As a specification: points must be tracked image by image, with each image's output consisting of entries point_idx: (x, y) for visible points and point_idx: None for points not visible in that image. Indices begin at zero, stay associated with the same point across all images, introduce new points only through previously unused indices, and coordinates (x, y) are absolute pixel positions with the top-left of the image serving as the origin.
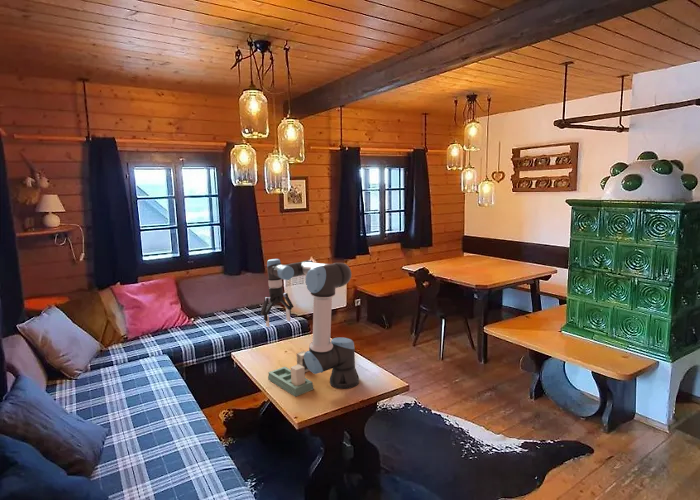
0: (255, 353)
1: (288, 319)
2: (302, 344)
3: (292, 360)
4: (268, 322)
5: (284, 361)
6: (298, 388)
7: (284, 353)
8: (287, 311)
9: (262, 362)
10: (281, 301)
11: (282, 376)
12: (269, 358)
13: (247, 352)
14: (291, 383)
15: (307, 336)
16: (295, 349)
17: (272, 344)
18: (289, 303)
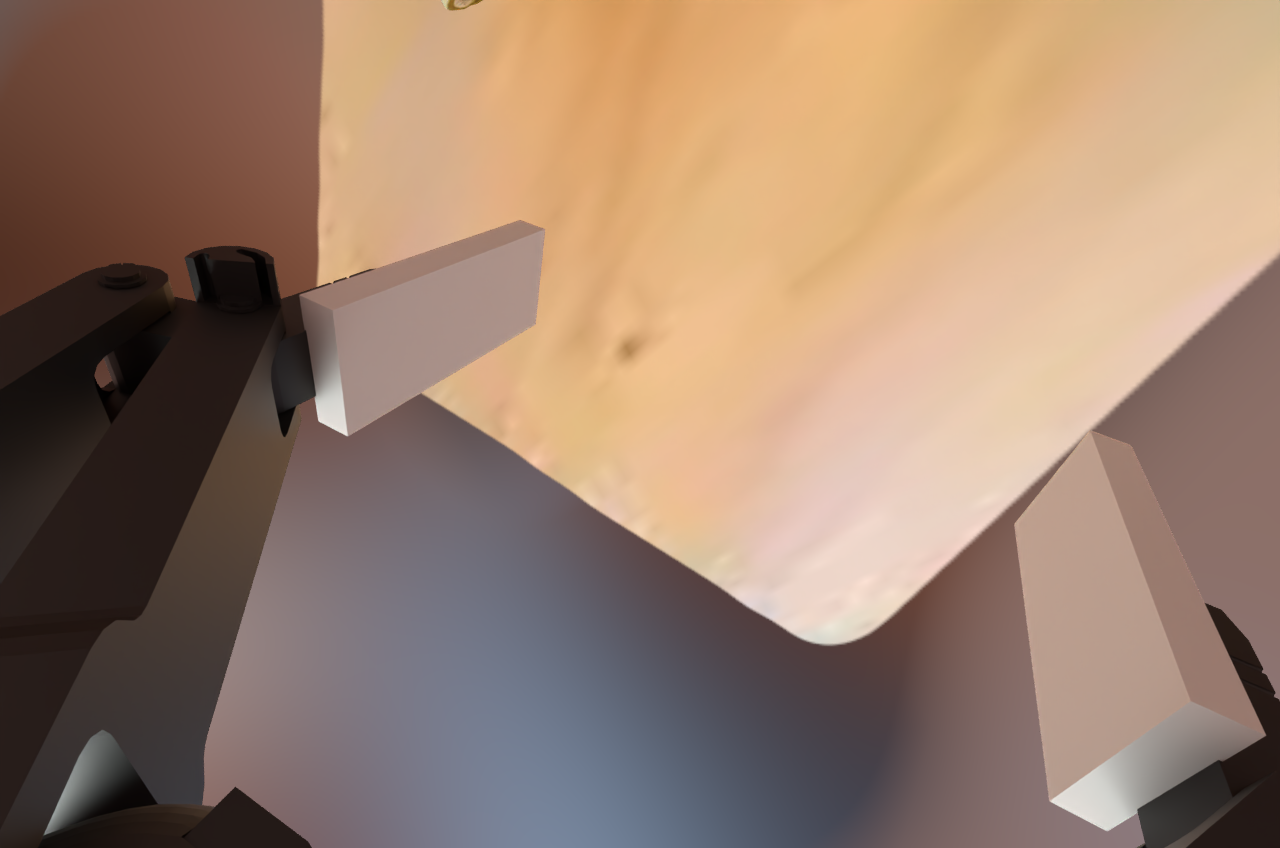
0: (768, 535)
1: (524, 265)
2: None
3: (747, 166)
4: (1152, 514)
5: (799, 223)
6: None
7: (664, 335)
8: (383, 347)
9: (900, 397)
10: (114, 761)
11: None
12: (801, 390)
13: (779, 592)
14: None
15: None
16: (566, 302)
17: (594, 503)
18: (37, 396)
